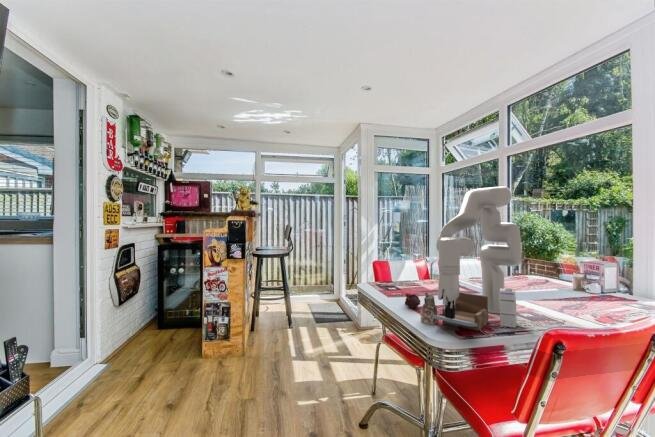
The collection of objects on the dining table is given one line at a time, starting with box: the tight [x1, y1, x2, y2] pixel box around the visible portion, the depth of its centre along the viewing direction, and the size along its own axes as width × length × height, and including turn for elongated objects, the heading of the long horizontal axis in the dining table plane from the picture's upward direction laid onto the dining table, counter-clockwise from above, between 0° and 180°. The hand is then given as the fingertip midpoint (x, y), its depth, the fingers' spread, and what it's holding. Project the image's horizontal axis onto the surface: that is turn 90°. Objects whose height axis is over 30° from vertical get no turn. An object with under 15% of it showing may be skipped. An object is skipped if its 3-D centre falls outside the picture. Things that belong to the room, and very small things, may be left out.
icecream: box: [404, 293, 421, 309], centre depth 147 cm, size 7×7×15 cm
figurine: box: [420, 292, 439, 325], centre depth 127 cm, size 7×7×12 cm
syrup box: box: [499, 288, 517, 329], centre depth 122 cm, size 6×6×14 cm
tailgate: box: [432, 314, 478, 327], centre depth 116 cm, size 2×14×10 cm
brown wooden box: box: [441, 291, 489, 332], centre depth 125 cm, size 14×14×11 cm
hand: (449, 317), depth 113 cm, fingers closed
